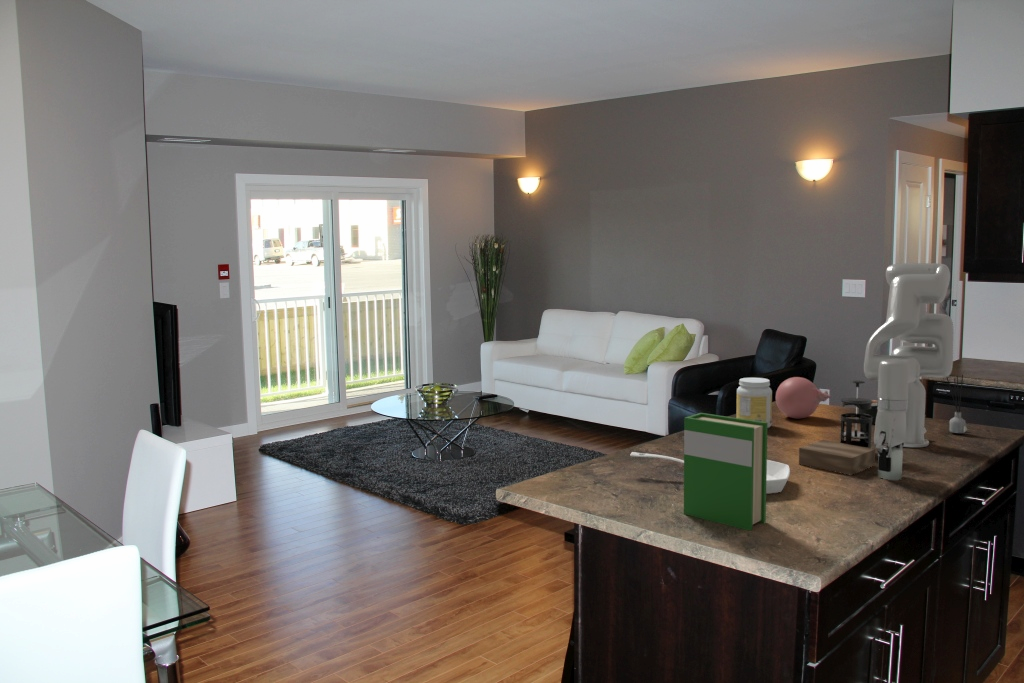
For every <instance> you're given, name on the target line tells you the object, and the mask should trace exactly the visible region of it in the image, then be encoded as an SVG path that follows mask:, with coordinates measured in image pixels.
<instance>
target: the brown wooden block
mask: <svg viewBox="0 0 1024 683" xmlns="http://www.w3.org/2000/svg"><path fill="white" fill-rule="evenodd" d="M799 464H801V465H800V466H803V465H806V466H805V467H808V466H811V467H810V468H813V467H815V468H814V469H818V468H820V469H819V470H823V469H825V470H824V471H827V470H830V471H829V472H832V471H836V472H835V473H837V472H841V473H840V474H842V473H845V474H844V475H846V474H850V475H849V476H853V475H852V474H854V475H856V474H859V473H861V472H863V471H862V470H864V471H865V469H866V470H868V469H871V468H873V467H875V464H876V449H875V448H872V447H871V448H866V447H860V446H855V445H849V444H844V443H840V442H837V441H832V440H825V439H822V440H819V441H816V442H813V443H809V444H807V445H803V446H801V447H799V448H798V465H799ZM872 466H873V467H872ZM870 467H871V468H870ZM867 468H868V469H867ZM860 471H861V472H860ZM858 472H859V473H858ZM855 473H856V474H855Z"/></svg>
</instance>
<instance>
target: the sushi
mask: <svg viewBox="0 0 1024 683" xmlns="http://www.w3.org/2000/svg"><path fill="white" fill-rule="evenodd" d="M871 400H872V401H873V403H871V409H869V410H861V409H859V408H858V413H859V414H869V415H870V416H872V424H875V422H876V416H877V412H878V409H877V402H878V399H877V400H875V399H871ZM858 419H861V418H858Z"/></svg>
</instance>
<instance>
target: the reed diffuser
mask: <svg viewBox="0 0 1024 683" xmlns="http://www.w3.org/2000/svg"><path fill="white" fill-rule="evenodd" d="M963 378H964V374H962V375H961V383H960V384H961V385H960V387H961V388H960V389H959V377H958V375H956V378H953V380H954V393H955V394H953V390H952V388H951V385H950V382H949V381H950V380H949V378H948V377H946V380H947V383H948V386H949V390H950V393H951V396H952V400H953V403H954V406H955V409H956V411H954V417H952V418H950V420H949V433H954V434H964V433H966V432H967V431H968V428H967V425H966V424H967V422H966V420H965V419H963V417H962V412H961V405H962V404H961V403H962V391H963V381H964V380H963ZM956 382H957V383H956ZM956 384H957V385H956ZM959 390H960V391H959ZM959 393H960V394H959ZM954 396H955V397H954ZM957 399H958V400H957Z"/></svg>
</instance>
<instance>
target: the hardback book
mask: <svg viewBox="0 0 1024 683" xmlns="http://www.w3.org/2000/svg"><path fill="white" fill-rule="evenodd" d="M683 420H684V422H683V424H684V426H683V427H684V428H683V429H684V430H683V432H684V433H683V436H684V438H683V439H684V440H683V447H684V448H683V460H684V464H683V514H684V515H685V514H687V516H689V515H691V517H694V516H695V518H698V517H699V518H698V519H702V520H706V521H711V522H713V523H718V524H723V525H727V526H729V527H730V526H731V527H734V528H738V529H741V530H747V531H750V532H751V531H753V528H754V527H753V526H754V524H757V523H761V524H765V523H766V522H767V520H766V519H767V515H766V514H767V494H766V478H767V460H768V428H767V426H768V423H767V422H760V421H753V420H746V419H740V418H736V417H732V416H727V415H726V416H724V415H719V414H711V413H704V412H699V413H695V414H693V415H689V416H686V417H684V419H683Z"/></svg>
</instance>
